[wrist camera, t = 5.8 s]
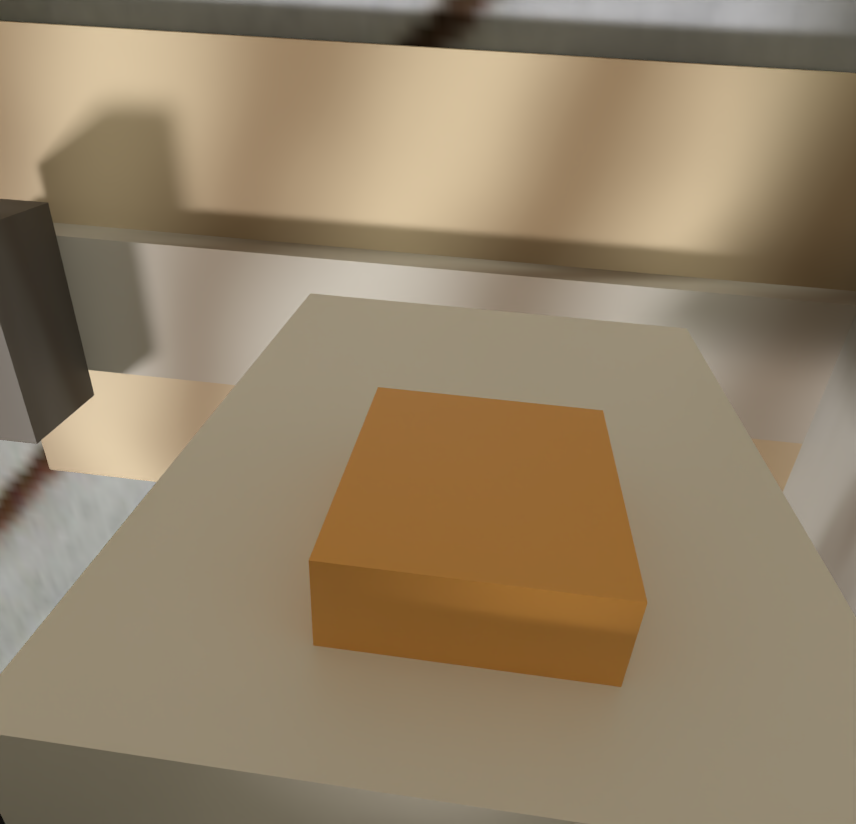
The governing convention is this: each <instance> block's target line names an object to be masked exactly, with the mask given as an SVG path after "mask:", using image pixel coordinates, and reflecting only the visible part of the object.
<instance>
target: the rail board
mask: <svg viewBox="0 0 856 824" xmlns="http://www.w3.org/2000/svg"><path fill="white" fill-rule="evenodd" d="M310 293H311V294H322V295H333V296H344V297H354V298H365V299H376V300H387V301H397V302H408V303H419V304H430V305H440V306H451V307H462V308H473V309H483V310H494V311H505V312H516V313H526V314H537V315H548V316H559V317H569V318H580V319H591V320H602V321H613V322H623V323H634V324H645V325H656V326H666V327H677V328H687V330H688V332H689V333H690V335H691V337H692V339H693V340H694V342H695V344H696V345H697V347H698V349H699V350H700V352H701V354H702V356H703V357H704V359H705V361H706V362H707V364H708V366H709V368H710V369H711V371H712V373H713V374H714V376H715V378H716V379H717V381H718V383H719V385H720V386H721V388H722V390H723V391H724V393H725V395H726V397H727V398H728V400H729V402H730V403H731V405H732V407H733V408H734V410H735V412H736V414H737V415H738V417H739V419H740V420H741V422H742V424H743V426H744V427H745V429H746V431H747V432H748V434H749V436H750V437H751V439H752V441H753V443H754V444H755V446H756V448H757V449H758V451H759V453H760V455H761V456H762V458H763V460H764V461H765V463H766V465H767V466H768V468H769V470H770V472H771V473H772V475H773V477H774V478H775V480H776V482H777V483H778V485H779V487H780V489H781V490H782V492H783V494H784V495H785V497H786V499H787V501H788V502H789V504H790V506H791V507H792V509H793V511H794V512H795V514H796V516H797V518H798V519H799V521H800V523H801V524H802V526H803V528H804V530H805V531H806V533H807V535H808V536H809V538H810V540H811V541H812V543H813V545H814V547H815V548H816V550H817V552H818V553H819V555H820V557H821V559H822V560H823V562H824V564H825V565H826V567H827V569H828V570H829V572H830V574H831V576H832V577H833V579H834V581H835V582H836V584H837V586H838V588H839V589H840V591H841V593H842V594H843V596H844V598H845V599H846V601H847V603H848V605H849V606H850V608H851V610H852V611H853V613H854V615H855V617H856V73H849V72H832V71H816V70H800V69H783V68H767V67H751V66H734V65H718V64H702V63H685V62H669V61H653V60H636V59H620V58H604V57H587V56H571V55H554V54H538V53H522V52H505V51H489V50H473V49H456V48H440V47H424V46H407V45H391V44H375V43H358V42H342V41H325V40H309V39H293V38H276V37H260V36H244V35H227V34H211V33H195V32H178V31H162V30H146V29H129V28H113V27H97V26H80V25H64V24H47V23H31V22H15V21H0V440H7V441H16V442H25V443H34V444H37V443H38V442H40V441H42V444H43V448H44V451H45V454H46V458H47V461H48V464H49V468H50V469H51V470H60V471H68V472H77V473H86V474H94V475H103V476H111V477H120V478H129V479H137V480H146V481H154V482H157V481H158V480H159V479H160V477H161V476H162V475H163V474H164V473H165V471H166V470H167V469H168V468H169V466H170V465H171V464H172V463H173V461H174V460H175V459H176V458H177V457H178V455H179V454H180V453H181V452H182V450H183V449H184V448H185V447H186V446H187V444H188V443H189V442H190V441H191V439H192V438H193V437H194V436H195V434H196V433H197V432H198V431H199V430H200V428H201V427H202V426H203V425H204V423H205V422H206V421H207V420H208V418H209V417H210V416H211V415H212V414H213V412H214V411H215V410H216V409H217V407H218V406H219V405H220V404H221V402H222V401H223V400H224V399H225V398H226V396H227V395H228V394H229V393H230V391H231V390H232V389H233V388H234V387H235V385H236V384H237V383H238V382H239V380H240V379H241V378H242V377H243V375H244V374H245V373H246V372H247V371H248V369H249V368H250V367H251V366H252V364H253V363H254V362H255V361H256V359H257V358H258V357H259V356H260V355H261V353H262V352H263V351H264V350H265V348H266V347H267V346H268V345H269V344H270V342H271V341H272V340H273V339H274V337H275V336H276V335H277V334H278V332H279V331H280V330H281V329H282V328H283V326H284V325H285V324H286V323H287V321H288V320H289V319H290V318H291V316H292V315H293V314H294V313H295V312H296V310H297V309H298V308H299V307H300V305H301V304H302V303H303V302H304V301H305V299H306V298H307V297H308V296H309V294H310Z"/></svg>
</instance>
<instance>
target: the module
mask: <svg viewBox="0 0 856 824" xmlns="http://www.w3.org/2000/svg"><path fill="white" fill-rule="evenodd" d="M0 814H1V816H2V818H3V820H4V822H5V824H856V617H855V615H854V613H853V611H852V610H851V608H850V606H849V605H848V603H847V601H846V599H845V598H844V596H843V594H842V593H841V591H840V589H839V588H838V586H837V584H836V582H835V581H834V579H833V577H832V576H831V574H830V572H829V570H828V569H827V567H826V565H825V564H824V562H823V560H822V559H821V557H820V555H819V553H818V552H817V550H816V548H815V547H814V545H813V543H812V541H811V540H810V538H809V536H808V535H807V533H806V531H805V530H804V528H803V526H802V524H801V523H800V521H799V519H798V518H797V516H796V514H795V512H794V511H793V509H792V507H791V506H790V504H789V502H788V501H787V499H786V497H785V495H784V494H783V492H782V490H781V489H780V487H779V485H778V483H777V482H776V480H775V478H774V477H773V475H772V473H771V472H770V470H769V468H768V466H767V465H766V463H765V461H764V460H763V458H762V456H761V455H760V453H759V451H758V449H757V448H756V446H755V444H754V443H753V441H752V439H751V437H750V436H749V434H748V432H747V431H746V429H745V427H744V426H743V424H742V422H741V420H740V419H739V417H738V415H737V414H736V412H735V410H734V408H733V407H732V405H731V403H730V402H729V400H728V398H727V397H726V395H725V393H724V391H723V390H722V388H721V386H720V385H719V383H718V381H717V379H716V378H715V376H714V374H713V373H712V371H711V369H710V368H709V366H708V364H707V362H706V361H705V359H704V357H703V356H702V354H701V352H700V350H699V349H698V347H697V345H696V344H695V342H694V340H693V339H692V337H691V335H690V333H689V332H688V330H687V328H677V327H666V326H656V325H645V324H634V323H623V322H613V321H602V320H591V319H580V318H569V317H559V316H548V315H537V314H526V313H516V312H505V311H494V310H483V309H473V308H462V307H451V306H440V305H430V304H419V303H408V302H397V301H387V300H376V299H365V298H354V297H344V296H333V295H322V294H311V293H310V294H309V296H308V297H307V298H306V299H305V301H304V302H303V303H302V304H301V305H300V307H299V308H298V309H297V310H296V312H295V313H294V314H293V315H292V316H291V318H290V319H289V320H288V321H287V323H286V324H285V325H284V326H283V328H282V329H281V330H280V331H279V332H278V334H277V335H276V336H275V337H274V339H273V340H272V341H271V342H270V344H269V345H268V346H267V347H266V348H265V350H264V351H263V352H262V353H261V355H260V356H259V357H258V358H257V359H256V361H255V362H254V363H253V364H252V366H251V367H250V368H249V369H248V371H247V372H246V373H245V374H244V375H243V377H242V378H241V379H240V380H239V382H238V383H237V384H236V385H235V387H234V388H233V389H232V390H231V391H230V393H229V394H228V395H227V396H226V398H225V399H224V400H223V401H222V402H221V404H220V405H219V406H218V407H217V409H216V410H215V411H214V412H213V414H212V415H211V416H210V417H209V418H208V420H207V421H206V422H205V423H204V425H203V426H202V427H201V428H200V430H199V431H198V432H197V433H196V434H195V436H194V437H193V438H192V439H191V441H190V442H189V443H188V444H187V446H186V447H185V448H184V449H183V450H182V452H181V453H180V454H179V455H178V457H177V458H176V459H175V460H174V461H173V463H172V464H171V465H170V466H169V468H168V469H167V470H166V471H165V473H164V474H163V475H162V476H161V477H160V479H159V480H158V481H157V482H156V484H155V485H154V486H153V487H152V489H151V490H150V491H149V492H148V493H147V495H146V496H145V497H144V498H143V500H142V501H141V502H140V503H139V504H138V506H137V507H136V508H135V509H134V511H133V512H132V513H131V514H130V516H129V517H128V518H127V519H126V520H125V522H124V523H123V524H122V525H121V527H120V528H119V529H118V530H117V532H116V533H115V534H114V535H113V536H112V538H111V539H110V540H109V541H108V543H107V544H106V545H105V546H104V547H103V549H102V550H101V551H100V552H99V554H98V555H97V556H96V557H95V559H94V560H93V561H92V562H91V563H90V565H89V566H88V567H87V568H86V570H85V571H84V572H83V573H82V575H81V576H80V577H79V578H78V579H77V581H76V582H75V583H74V584H73V586H72V587H71V588H70V589H69V591H68V592H67V593H66V594H65V595H64V597H63V598H62V599H61V600H60V602H59V603H58V604H57V605H56V606H55V608H54V609H53V610H52V611H51V613H50V614H49V615H48V616H47V618H46V619H45V620H44V621H43V622H42V624H41V625H40V626H39V627H38V629H37V630H36V631H35V632H34V634H33V635H32V636H31V637H30V638H29V640H28V641H27V642H26V643H25V645H24V646H23V647H22V648H21V649H20V651H19V652H18V653H17V654H16V656H15V657H14V658H13V659H12V661H11V662H10V663H9V664H8V665H7V667H6V668H5V669H4V670H3V672H2V673H1V674H0Z"/></svg>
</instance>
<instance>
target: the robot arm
mask: <svg viewBox="0 0 856 824" xmlns="http://www.w3.org/2000/svg"><path fill="white" fill-rule="evenodd" d="M0 824H5V822H4V820H3V818H2V816H1V814H0Z"/></svg>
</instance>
